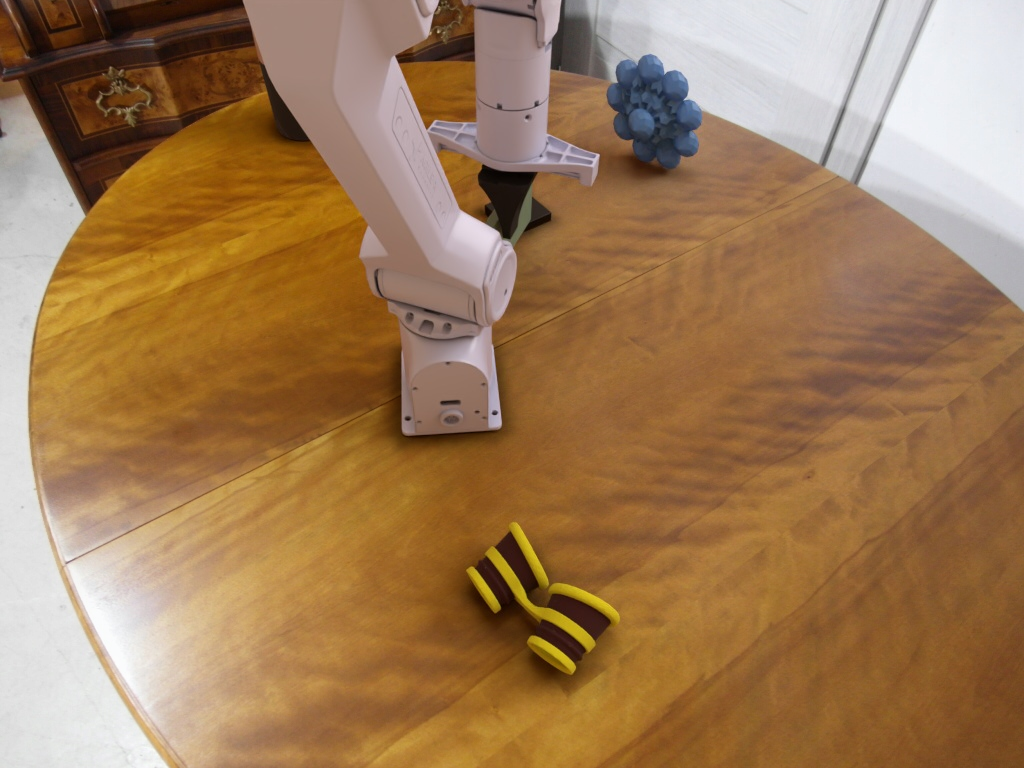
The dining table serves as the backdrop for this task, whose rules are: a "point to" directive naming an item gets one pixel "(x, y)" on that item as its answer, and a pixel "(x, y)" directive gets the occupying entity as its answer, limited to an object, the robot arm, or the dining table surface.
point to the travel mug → (280, 107)
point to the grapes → (654, 111)
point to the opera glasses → (562, 622)
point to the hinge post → (537, 214)
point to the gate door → (522, 223)
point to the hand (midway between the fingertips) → (510, 232)
